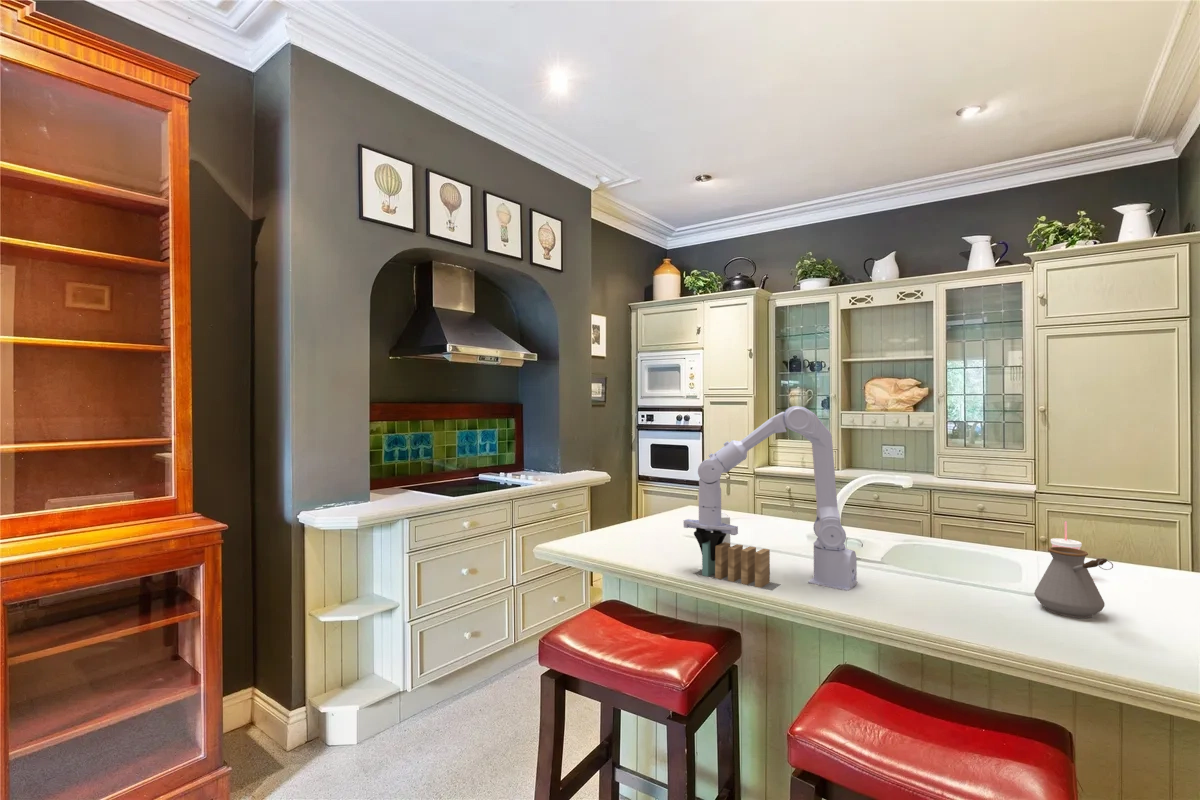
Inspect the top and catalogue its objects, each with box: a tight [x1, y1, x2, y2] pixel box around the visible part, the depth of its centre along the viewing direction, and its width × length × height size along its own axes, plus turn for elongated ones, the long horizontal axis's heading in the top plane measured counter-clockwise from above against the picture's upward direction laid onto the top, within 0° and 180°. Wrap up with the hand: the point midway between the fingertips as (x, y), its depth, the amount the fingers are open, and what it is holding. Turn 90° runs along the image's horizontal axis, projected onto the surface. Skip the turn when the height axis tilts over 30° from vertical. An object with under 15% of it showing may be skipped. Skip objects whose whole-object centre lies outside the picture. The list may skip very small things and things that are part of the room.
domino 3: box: [740, 546, 757, 586], centre depth 141 cm, size 2×5×8 cm, turn 141°
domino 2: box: [727, 544, 744, 583], centre depth 143 cm, size 2×5×8 cm, turn 141°
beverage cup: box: [1050, 520, 1083, 550], centre depth 145 cm, size 6×6×14 cm
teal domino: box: [701, 541, 715, 577], centre depth 147 cm, size 2×5×8 cm, turn 139°
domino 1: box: [714, 542, 731, 580], centre depth 145 cm, size 2×5×8 cm, turn 141°
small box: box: [711, 512, 731, 544], centre depth 172 cm, size 8×6×10 cm
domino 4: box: [755, 548, 771, 589], centre depth 138 cm, size 2×5×8 cm, turn 141°
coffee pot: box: [1034, 546, 1114, 619], centre depth 116 cm, size 21×12×15 cm, turn 162°
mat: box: [692, 569, 782, 591], centre depth 143 cm, size 21×6×1 cm, turn 51°
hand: (710, 559), depth 147 cm, fingers closed
